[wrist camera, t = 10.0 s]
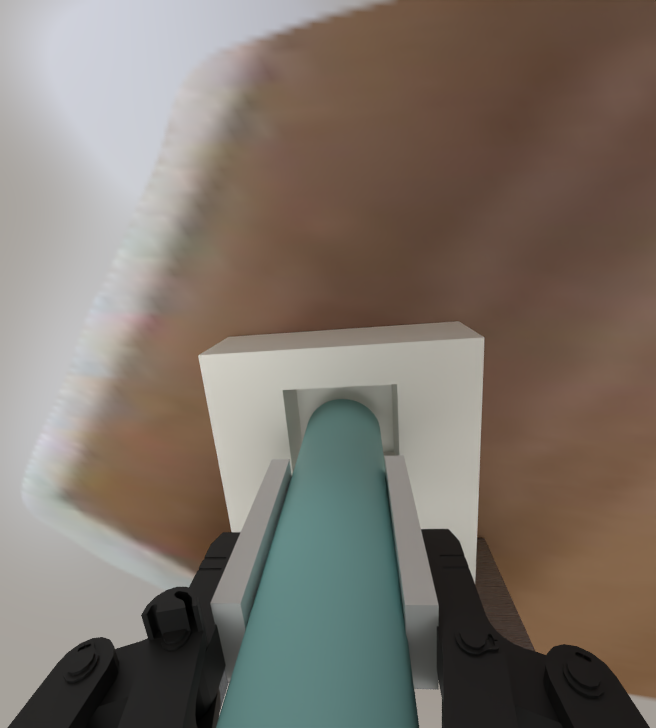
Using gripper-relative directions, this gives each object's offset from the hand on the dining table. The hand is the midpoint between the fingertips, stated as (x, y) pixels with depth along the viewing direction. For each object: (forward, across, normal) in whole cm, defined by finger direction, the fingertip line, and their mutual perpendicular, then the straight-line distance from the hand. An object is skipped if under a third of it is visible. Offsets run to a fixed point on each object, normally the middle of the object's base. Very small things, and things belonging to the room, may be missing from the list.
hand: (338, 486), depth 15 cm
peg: (+5, 0, 0) cm, 5 cm away
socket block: (+9, 0, -3) cm, 9 cm away
